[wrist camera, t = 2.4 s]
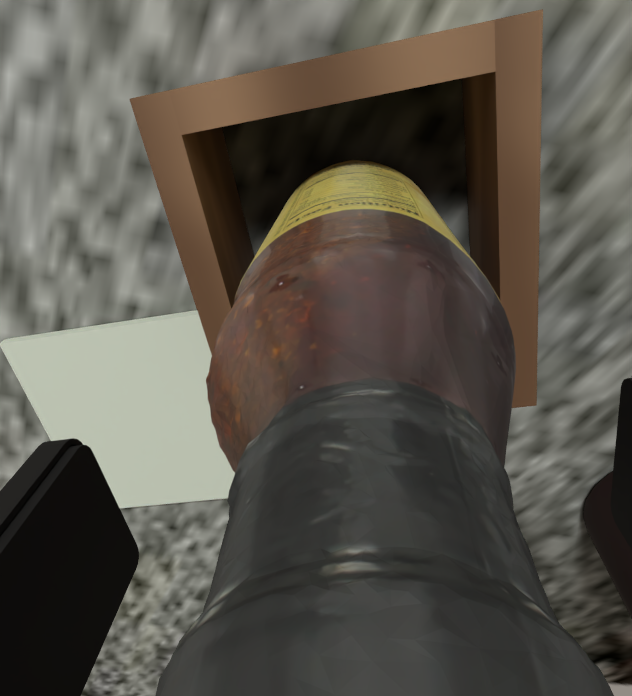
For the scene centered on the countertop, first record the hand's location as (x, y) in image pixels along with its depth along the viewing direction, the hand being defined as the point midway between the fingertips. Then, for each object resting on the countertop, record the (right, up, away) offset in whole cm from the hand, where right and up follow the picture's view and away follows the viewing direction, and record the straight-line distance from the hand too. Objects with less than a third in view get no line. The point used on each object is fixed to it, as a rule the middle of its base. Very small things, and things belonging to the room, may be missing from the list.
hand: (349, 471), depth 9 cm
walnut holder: (+1, +7, +12) cm, 14 cm away
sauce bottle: (+1, +7, +12) cm, 14 cm away
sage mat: (-9, -1, +17) cm, 20 cm away
